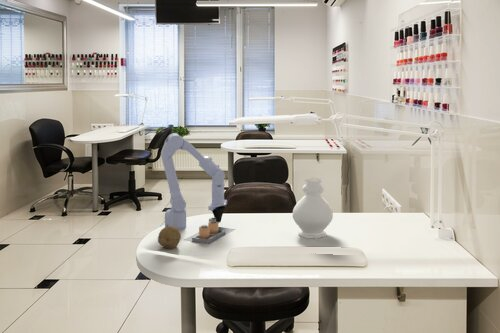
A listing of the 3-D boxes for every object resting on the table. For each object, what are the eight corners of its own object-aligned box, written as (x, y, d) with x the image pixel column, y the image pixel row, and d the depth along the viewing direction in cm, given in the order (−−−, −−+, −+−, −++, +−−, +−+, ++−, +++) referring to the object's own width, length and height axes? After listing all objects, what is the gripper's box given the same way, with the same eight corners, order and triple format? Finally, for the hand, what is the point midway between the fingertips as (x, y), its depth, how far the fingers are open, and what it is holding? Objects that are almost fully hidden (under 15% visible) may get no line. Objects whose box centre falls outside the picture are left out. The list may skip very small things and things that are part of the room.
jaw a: (197, 240, 222) (197, 226, 221) (202, 237, 226) (202, 224, 225) (206, 242, 220) (206, 227, 219) (211, 239, 224) (211, 225, 223)
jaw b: (206, 235, 229) (206, 222, 228) (210, 232, 233) (210, 219, 232) (215, 236, 228) (215, 223, 227) (220, 234, 232) (220, 220, 231)
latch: (208, 227, 242) (208, 219, 241) (212, 225, 244) (212, 217, 244) (212, 228, 241) (212, 219, 240) (215, 226, 244) (215, 218, 243)
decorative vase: (330, 241, 226) (332, 184, 222) (289, 238, 230) (290, 182, 225) (333, 229, 243) (335, 176, 239) (295, 227, 247) (296, 175, 242)
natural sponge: (167, 255, 208) (166, 230, 206) (153, 250, 214) (153, 226, 212) (185, 249, 214) (184, 226, 212) (171, 245, 220) (170, 222, 218)
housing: (183, 242, 223) (183, 235, 223) (211, 228, 245) (211, 221, 244) (208, 246, 218) (208, 239, 218) (235, 231, 239) (235, 224, 239)
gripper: (217, 197, 237) (218, 226, 239) (232, 191, 250) (232, 219, 252) (204, 196, 240) (204, 225, 242) (219, 190, 253) (219, 217, 255)
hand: (218, 222), depth 247 cm, fingers closed
